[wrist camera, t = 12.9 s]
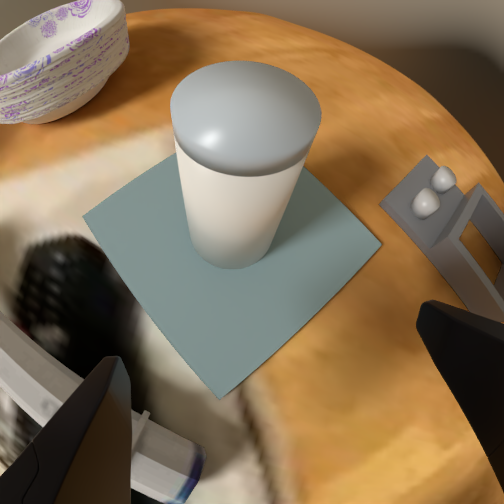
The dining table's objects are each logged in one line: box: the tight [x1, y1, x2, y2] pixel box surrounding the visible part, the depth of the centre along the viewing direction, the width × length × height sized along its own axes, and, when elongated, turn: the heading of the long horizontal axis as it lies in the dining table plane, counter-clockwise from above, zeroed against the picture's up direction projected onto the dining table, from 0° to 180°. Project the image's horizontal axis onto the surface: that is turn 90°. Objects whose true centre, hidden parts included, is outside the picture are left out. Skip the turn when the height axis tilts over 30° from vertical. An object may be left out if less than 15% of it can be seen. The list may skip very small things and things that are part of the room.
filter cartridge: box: [170, 61, 321, 270], centre depth 14 cm, size 5×5×10 cm
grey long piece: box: [0, 311, 207, 504], centre depth 13 cm, size 5×7×25 cm
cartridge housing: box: [379, 155, 504, 323], centre depth 20 cm, size 13×8×3 cm, turn 42°
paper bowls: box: [0, 0, 129, 124], centre depth 19 cm, size 15×15×8 cm
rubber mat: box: [82, 153, 382, 400], centre depth 19 cm, size 14×14×1 cm
